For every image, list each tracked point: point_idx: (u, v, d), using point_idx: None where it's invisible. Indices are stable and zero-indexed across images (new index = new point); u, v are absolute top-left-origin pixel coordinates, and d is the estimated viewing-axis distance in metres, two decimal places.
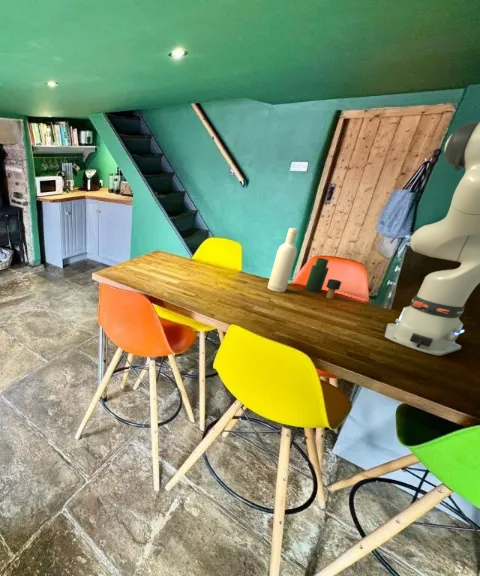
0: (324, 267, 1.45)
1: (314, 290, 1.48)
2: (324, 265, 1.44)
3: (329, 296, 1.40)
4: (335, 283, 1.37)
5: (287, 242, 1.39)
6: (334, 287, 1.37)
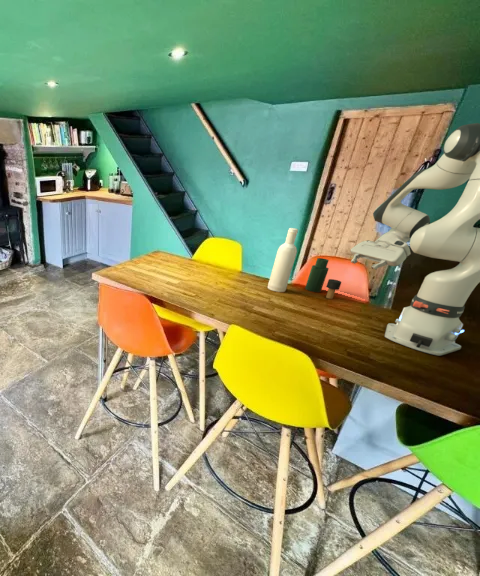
0: (324, 267, 1.45)
1: (314, 290, 1.48)
2: (324, 265, 1.44)
3: (329, 296, 1.40)
4: (335, 283, 1.37)
5: (287, 242, 1.39)
6: (334, 287, 1.37)
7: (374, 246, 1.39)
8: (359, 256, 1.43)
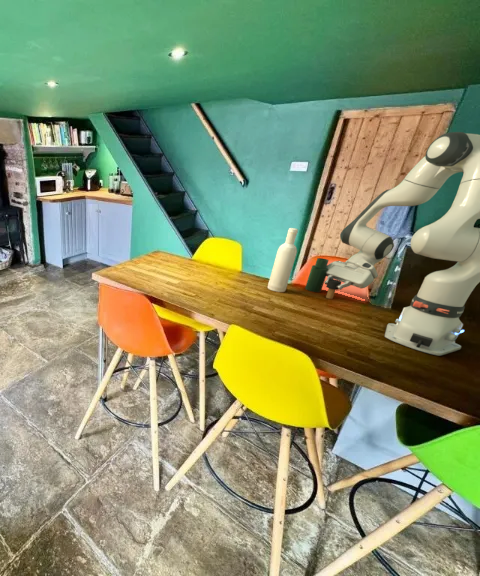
0: (324, 267, 1.45)
1: (314, 290, 1.48)
2: (324, 265, 1.44)
3: (329, 296, 1.40)
4: (335, 283, 1.37)
5: (287, 242, 1.39)
6: (334, 287, 1.37)
7: (344, 267, 1.39)
8: (333, 277, 1.42)
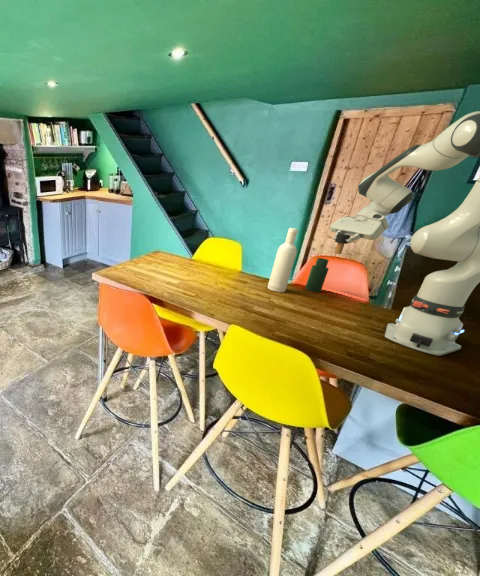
0: (324, 267, 1.45)
1: (314, 290, 1.48)
2: (324, 265, 1.44)
3: (338, 251, 1.36)
4: (344, 237, 1.33)
5: (287, 242, 1.39)
6: (343, 241, 1.33)
7: (353, 221, 1.36)
8: (341, 233, 1.38)
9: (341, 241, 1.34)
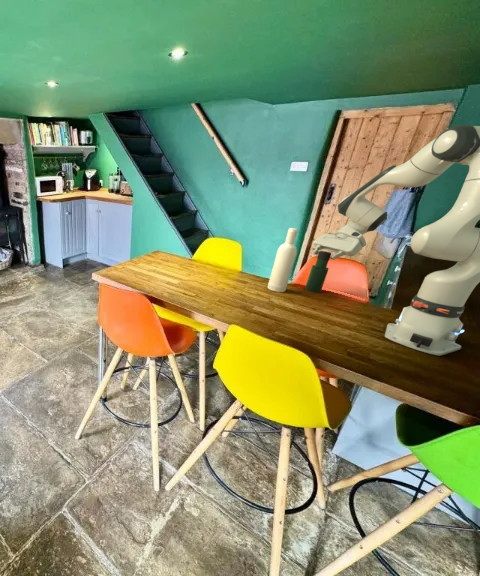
0: (324, 267, 1.45)
1: (314, 290, 1.48)
2: (324, 265, 1.44)
3: None
4: (325, 254, 1.42)
5: (287, 242, 1.39)
6: (325, 258, 1.43)
7: (334, 238, 1.45)
8: (321, 247, 1.49)
9: (322, 258, 1.43)
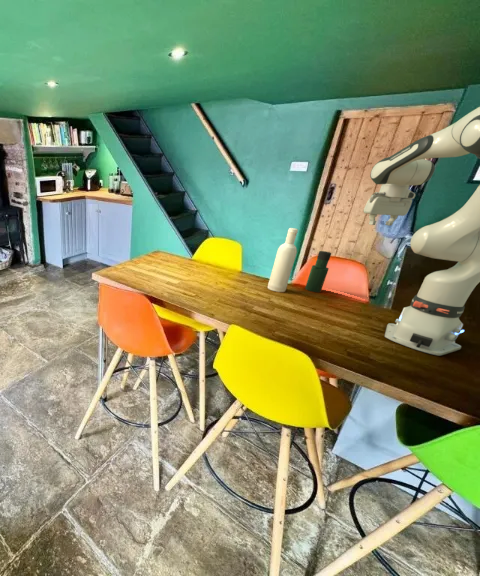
0: (324, 267, 1.45)
1: (314, 290, 1.48)
2: (324, 265, 1.44)
3: None
4: (325, 254, 1.42)
5: (287, 242, 1.39)
6: (325, 258, 1.43)
7: (388, 201, 1.30)
8: None
9: (322, 258, 1.43)
